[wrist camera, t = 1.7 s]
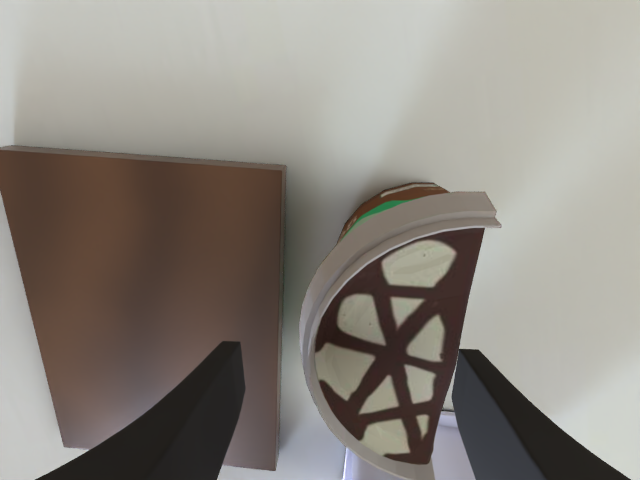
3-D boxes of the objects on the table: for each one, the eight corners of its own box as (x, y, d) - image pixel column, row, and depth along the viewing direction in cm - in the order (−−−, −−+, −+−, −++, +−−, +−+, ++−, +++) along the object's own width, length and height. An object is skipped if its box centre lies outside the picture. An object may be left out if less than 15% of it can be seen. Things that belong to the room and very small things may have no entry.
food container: (323, 145, 21) (300, 190, 12) (438, 155, 21) (506, 208, 12) (309, 336, 26) (285, 477, 16) (404, 346, 25) (433, 495, 16)
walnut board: (286, 165, 22) (282, 170, 20) (278, 453, 30) (275, 471, 28) (11, 145, 23) (-11, 148, 21) (76, 431, 31) (63, 447, 29)
